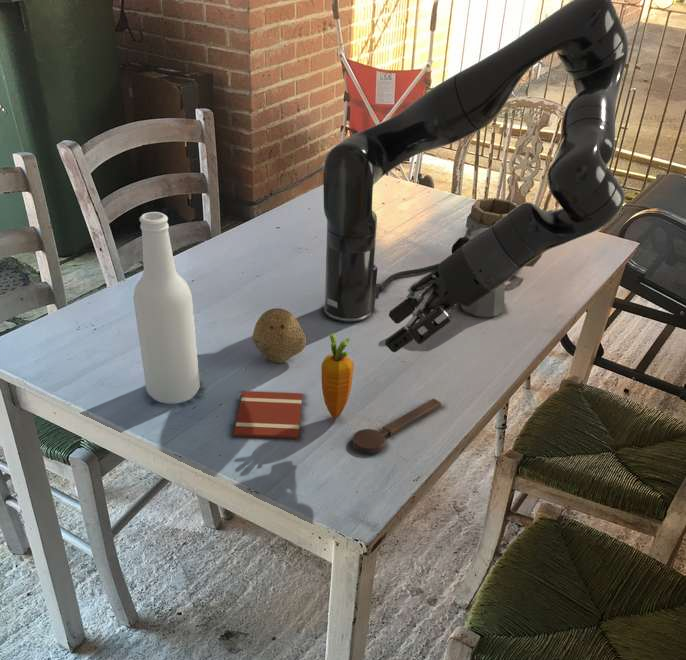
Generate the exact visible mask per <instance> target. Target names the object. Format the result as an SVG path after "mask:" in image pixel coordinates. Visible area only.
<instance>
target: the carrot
mask: <svg viewBox="0 0 686 660" xmlns="http://www.w3.org/2000/svg"><path fill="white" fill-rule="evenodd" d="M329 339H330V341H331V342H330V343H331V344H330V349H331V353H332V354H328V355H326V356H325V358H324V359H323V361H322V363H321V391H322V396H323V400H324V401H323V402H324V404H325V406H326V408H327V409H326V410H327V411H328V413H329V414H330V416H331V417H332V418H333V419H334V420H336V419H338V418H339V417H340V416H341V415H342V413H343V411H344V409H345V407H346V405H347V404H348V400H349V397H350V394H351V393H350V392H351V390H352V385H353V376H354V368H355V367H354V362H353V360H352V359H351V358H350V357H349V356H348V355H349V352H348V351H344V350H345V349H346V347H347V345H348V343H349V342H350V340H351V338H349V337H347V338H346V339H344V340H341V342H340V343H339V345H338V346H337V340H336V337H335V334H334V333H333V334H332V333H331V334H330V335H329ZM343 351H344V352H343Z"/></svg>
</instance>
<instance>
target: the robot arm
mask: <svg viewBox="0 0 686 660" xmlns="http://www.w3.org/2000/svg"><path fill="white" fill-rule="evenodd" d="M628 52H629V40H628V38H627V34H626V32H625V29H624V27H623V24H622V22H621V20H620V18H619V15H618V13H617V9H616V8H615V6H614V3H613V0H572V1H570V2H568V3H566V4H565V5H563V6H562V7H560V8H559V9H557V10H556V11H555V12H553V13H551V14H550V15H548V16H547V17H546V18H545V19H543V20H541V21H540V22H539V23H538V24H536V25H534V26H533V27H532V28H530V29H529V30H527V31H526V32H525V33H523V34H522V35H520V36H519V37H517V38H515V40H513V41H511V42H510V43H508V44H506V45H505V46H503V47H501V48H500V49H499V50H496V51H495V52H493V53H491V54H490V55H488V56H486V57H485V58H483V59H481V60H480V61H478V62H476V63H474V64H472V65H470V66H469V67H467V68H465V69H463V70H461V71H459V72H458V73H456V74H455V75H452V76H451V77H449V78H446V79H445V80H444V81H441V83H439V84H436V85H435V86H433V87H432V88H431V89H430V90H428V91H427V92H425V93H423V94H422V95H421V96H420V97H418V98H417V99H415V100H414V101H413V102H412V103H410V104H409V105H408V106H407V107H406V108H404V109H403V110H402V111H400V112H399V113H397V114H396V115H394V116H393V117H390V118H389V119H387V120H384V121H382V122H379V123H378V124H375V125H373V126H370V127H369V128H366V129H364V130H361V131H359V132H356V133H354V134H351V135H348V136H347V137H346V138H344V139H343V140H341V141H340V142H338V143H337V144H336V145H334V146H333V147H332V148H331V149H330V150H329V152H328V153H327V155H326V157H325V160H324V166H323V179H322V180H323V181H322V182H323V183H322V184H323V211H324V216H325V218H326V251H325V252H326V253H325V254H326V255H325V285H324V306H323V311H324V314H325V315H326V316H327V317H328V318H330V319H333V320H335V321H339V322H343V323H354V322H355V323H356V322H361V321H364V320H366V319H367V318H369V317H370V315H371V314H372V312H375V306H376V300H377V299H379V297H380V296H379V295H380V292H382V291H384V290H385V289H386V288H387V286H388V285H389V284H390V283H391V281H393V280H395V279H396V278H400V277H404V276H410V275H417V274H422V273H425V272H429V271H431V272H430V273H429V274H427V275H426V276H425V277H423V278H422V279H420V280H419V281H417V282H416V283H415V284H414V285H412V286H411V288H410V293H408V294H407V295H406V298H405V299H404V300H403V301H401V302H400V303H399V304H397V305H396V306H395V307H393V308H392V309H390V310H389V312H388V317H389V318H390V319H391V320H392V321H393V322H394V323H395V324H397V325H398V324H400V323H401V322H403V321H404V320H405V319H407V318H408V317H410V316H411V315H412V317H411V318H410V319H409V320H408V322H406V324H405V325H404V326H402V327H400V328H399V329H398V330H396V331H395V332H394V333H392V334H391V335H390V336H389V337H387V338H386V339H385V341H384V342H385V346H386V347H387V348H388V349H389V350H390V351H391V352H392V353H396V352H399V350H401V349H402V348H404V347H405V346H406V345H408V344H409V343H411V342H412V341H413V340H414V341H415V342H416V344H417V345H421V344H423V343H424V342H425V341H427V340H428V339H429V338H430V337H432V336H433V335H434V334H436V333H437V332H439V331H440V330H442V329H443V328H444V327H445V326H447V325H448V324H449V323H451V321H452V320H453V317H452V316H451V315H450V314H449V312H450V311H451V310H452V308H453V307H455V306H456V305H460V306H461V305H462V306H464V307H467V308H468V307H471V306H473V305H474V304H476V303H477V302H478V301H480V300H481V299H483V298H484V297H485V296H487V295H488V294H490V293H491V292H492V291H494V290H495V289H497V288H498V287H499V286H501V285H502V284H504V283H507V282H508V281H510V280H511V278H513V277H514V276H515V275H516V274H517V273H518V272H520V271H521V270H522V269H523V268H524V267H527V266H526V265H527V264H529V263H530V262H532V261H533V260H534V259H536V258H537V257H539V256H540V255H541V254H542V255H543V254H544V253H545V252H547V251H549V250H551V249H554V248H556V247H560V246H562V245H565V244H567V243H569V242H571V241H574V240H576V239H579V238H582V237H585V236H587V235H589V234H592V233H595V232H597V231H599V230H600V229H602V228H604V227H606V226H607V225H608V224H610V223H611V222H612V221H613V220H614V219H615V218H616V217H617V215H618V214H619V212H620V211H621V210H622V207H623V205H624V203H625V191H624V189H623V186H622V185H621V184H620V182H619V181H618V179H617V178H616V177H615V176H614V174H613V173H612V171H611V169H609V167H608V164H609V163H610V161H611V160H612V158H613V155H614V152H615V147H616V108H617V107H616V106H617V99H618V95H619V90H620V86H621V82H622V78H623V74H624V70H625V68H626V64H627V59H628ZM554 53H556V55H557V56H558V58H559V60H560V62H561V64H562V66H563V68H564V70H565V72H566V73H567V75H568V76H569V77H570V78H571V80H572V82H573V86H574V89H575V95H574V96H573V97H572V98H571V99H570V101H569V102H568V103H567V105H566V106H565V109H564V112H563V115H562V118H561V124H560V125H561V126H560V139H559V140H560V141H559V147H558V148H557V150H556V152H555V155H554V157H553V159H552V160H551V163H550V165H549V167H548V169H547V173H546V175H547V176H546V180H547V186H548V190H549V192H550V194H551V196H552V197H553V198H554V199H555V201H556V202H557V203H558V204H559V206H560V207H561V208H559V209H556V210H554V211H552V212H546V210H544V209H542V208H540V207H539V206H538V205H536V204H535V203H533V202H528V201H527V202H523V203H521V204H519V205H518V207H516V208H515V209H514V210H512V211H511V212H510V213H508V214H507V215H506V216H505V217H503V218H502V219H501V220H499V221H498V222H497V223H495V224H494V225H493V226H491V227H490V228H488V229H486V230H484V231H483V232H481V233H479V234H478V235H476V236H475V237H474V238H472V239H471V240H470V241H468V242H467V243H466V244H464V245H463V246H462V247H460V248H459V249H458V250H457V251H455V252H454V253H453V254H452V253H451V254H450V255H449V256H447V257H446V258H445V259H443V260H442V261H440V262H439V263H436V264H432V265H428V266H425V267H420V268H415V269H410V270H409V269H408V270H403V271H398V272H395V273H393V274H391V275H390V276H389V277H387V278H386V279H385V280H384V282H383V283H382V284H380V283H377V282H378V281H377V279H378V266H377V264H375V255H376V240H377V239H376V238H377V228H378V227H377V225H378V216H377V213H376V212H375V211H374V210H373V193H374V185H375V184H377V182H379V181H380V180H381V179H382V178H383V177H384V176H385V175H387V174H388V173H389V172H391V171H392V170H393V169H395V168H397V167H399V166H400V165H401V164H403V163H404V162H406V161H407V160H409V159H411V158H412V157H415V156H418V155H420V154H422V153H425V152H429V151H433V150H436V149H440V148H443V147H446V146H449V145H451V144H454V143H457V142H459V141H461V140H463V139H465V138H467V137H469V136H471V135H472V134H475V133H476V132H478V131H481V130H483V129H484V128H485V127H487V126H489V125H490V124H491V123H493V121H494V120H496V118H498V116H499V114H500V113H501V112H502V110H503V109H504V107H505V105H507V102H508V100H509V99H510V97H511V95H512V94H513V92H514V90H515V89H516V87H517V85H518V84H519V82H520V81H521V80H522V78H523V77H524V76H525V74H526V73H527V72H528V71H529V70H530V69H532V68H533V67H534V66H535V65H537V64H538V63H539V62H540V61H543V60H544V59H545V58H547V57H548V56H550V55H552V54H554Z"/></svg>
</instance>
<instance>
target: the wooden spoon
mask: <svg viewBox="0 0 686 660" xmlns="http://www.w3.org/2000/svg"><path fill="white" fill-rule="evenodd" d="M441 406H442V402H441V401H439V400H437V399H435V398H432V399H430V400H428V401H427V402H425V403H423V404H421V405H420V406H418V407H417V408H414V409H412V410H410V411H409V412H407V413H406V414H404V415H402V416H400V417H398V418H396V419H395V420H393V421H392V422H389V423H387V424H386V425H384V426H383V427H382V429H381V430H376V429H371V428H364V429H360V430H358V431H356V432H355V433H354V434H353V437H352V446H353V448H354V449H355V450H356V451H357V452H359V453H362V454H366V455H375V454H378V453H380V452H382V451H383V450H384V448H385V446H386V437H392V436H393V435H395V434H397V433H398V432H400V431H402V430H403V429H406V428H407V427H409V426H411V425H412V424H414V423H415V422H417V421H419V420H421V419H423V418H424V417H426V416H427V415H429V414H431V413H433V412H434V411H436V410H438V409H440V408H441Z"/></svg>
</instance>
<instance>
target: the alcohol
mask: <svg viewBox="0 0 686 660" xmlns="http://www.w3.org/2000/svg"><path fill="white" fill-rule="evenodd" d="M138 220H139V222H140V225H139V227H140V228H139V229H140V230H141V239H142V241H141V242H142V243H141V244H142V261H143V272H142V276H141V277H140V279H139V280H138V281H137V283H136V285H135V286H134V290H133V299H132V300H133V306H134V313H135V314H134V315H135V319H136V326H137V333H138V339H139V340H138V341H139V349H140V355H141V362H142V369H143V377H144V384H145V391H146V392H147V394H148V396H150V398H152V399H153V400H154V401H156V402H157V403H158V402H159V403H162V404H167V405H175V404H181V403H184V402H185V403H186V402H187V401H189V400H191V399H193V398H194V397H195V395H196V394H197V392H199V389H200V386H201V385H200V373H199V363H198V362H199V361H198V360H199V359H198V350H197V339H196V338H197V337H196V328H195V316H194V306H193V295H192V292H191V289H190V287H189V284H188V283H187V281H186V280H185V279H184V278H183V277H182V276H181V275H180V274H179V273H178V271H177V268H176V265H175V260H174V254H173V248H172V243H171V238H170V232H169V228H170V225H169V223H168V222H169V221H168V220H169V217H168V216H167V215H166V214H165V213H162V212H160V211H149V212H145V213H143V214H142V215H141V216H139V219H138Z"/></svg>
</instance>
